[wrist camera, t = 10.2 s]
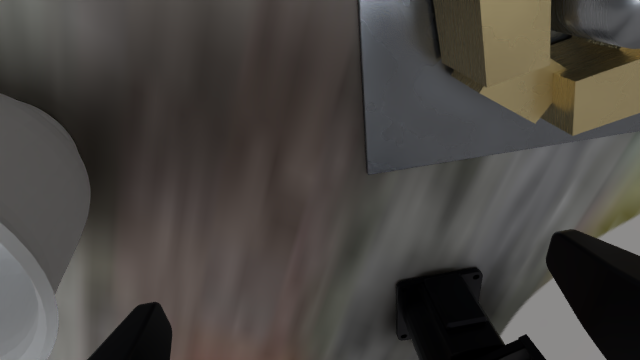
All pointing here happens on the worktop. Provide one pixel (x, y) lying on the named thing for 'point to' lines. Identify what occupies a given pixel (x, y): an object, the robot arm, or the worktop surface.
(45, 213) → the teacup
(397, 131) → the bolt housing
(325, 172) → the worktop surface
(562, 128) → the copper cylinder with bracket
